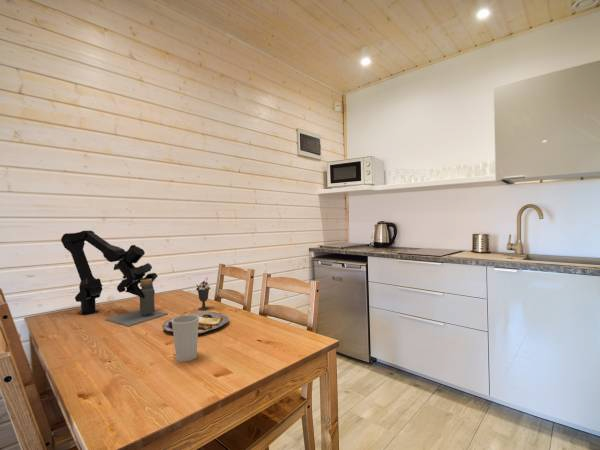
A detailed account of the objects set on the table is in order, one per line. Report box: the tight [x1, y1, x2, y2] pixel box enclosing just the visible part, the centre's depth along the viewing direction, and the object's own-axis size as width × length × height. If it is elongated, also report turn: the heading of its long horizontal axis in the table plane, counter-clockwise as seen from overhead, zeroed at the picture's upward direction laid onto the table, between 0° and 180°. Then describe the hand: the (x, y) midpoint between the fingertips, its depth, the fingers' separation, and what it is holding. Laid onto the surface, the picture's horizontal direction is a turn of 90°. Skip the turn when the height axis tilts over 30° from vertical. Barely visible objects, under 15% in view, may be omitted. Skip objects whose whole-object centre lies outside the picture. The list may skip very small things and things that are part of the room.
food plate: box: [162, 311, 230, 334], centre depth 123 cm, size 25×23×4 cm
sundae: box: [195, 277, 211, 311], centre depth 146 cm, size 7×7×15 cm
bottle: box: [139, 279, 156, 314], centre depth 136 cm, size 6×6×15 cm
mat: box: [104, 309, 169, 328], centre depth 135 cm, size 18×18×1 cm
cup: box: [171, 314, 199, 362], centre depth 94 cm, size 8×8×12 cm
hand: (149, 295), depth 136 cm, fingers closed on bottle, 6 cm apart
